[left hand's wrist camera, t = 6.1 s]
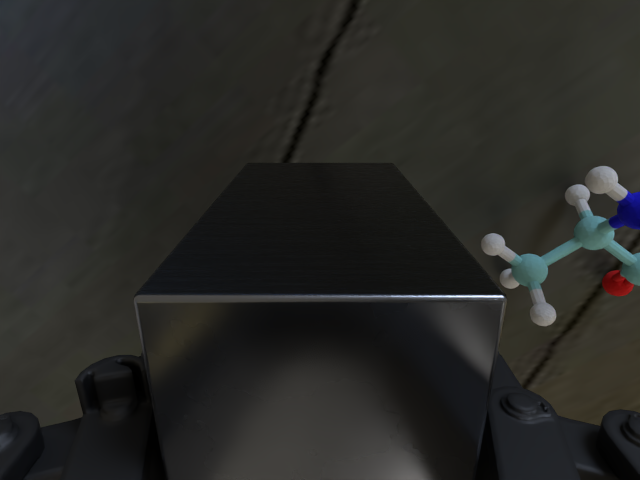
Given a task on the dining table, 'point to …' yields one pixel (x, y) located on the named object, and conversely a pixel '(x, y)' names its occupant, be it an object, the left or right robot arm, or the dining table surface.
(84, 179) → the dining table surface
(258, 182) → the bar
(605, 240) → the molecular model
